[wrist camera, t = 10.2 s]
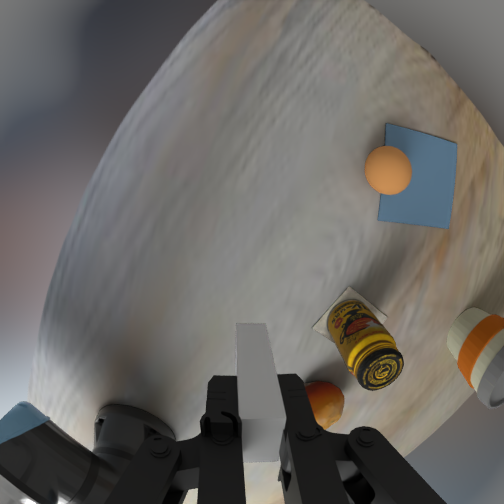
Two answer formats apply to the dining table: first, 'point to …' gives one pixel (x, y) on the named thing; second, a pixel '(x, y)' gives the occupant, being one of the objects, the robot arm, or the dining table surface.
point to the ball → (388, 170)
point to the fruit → (325, 402)
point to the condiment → (362, 340)
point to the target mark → (422, 180)
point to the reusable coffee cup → (480, 353)
